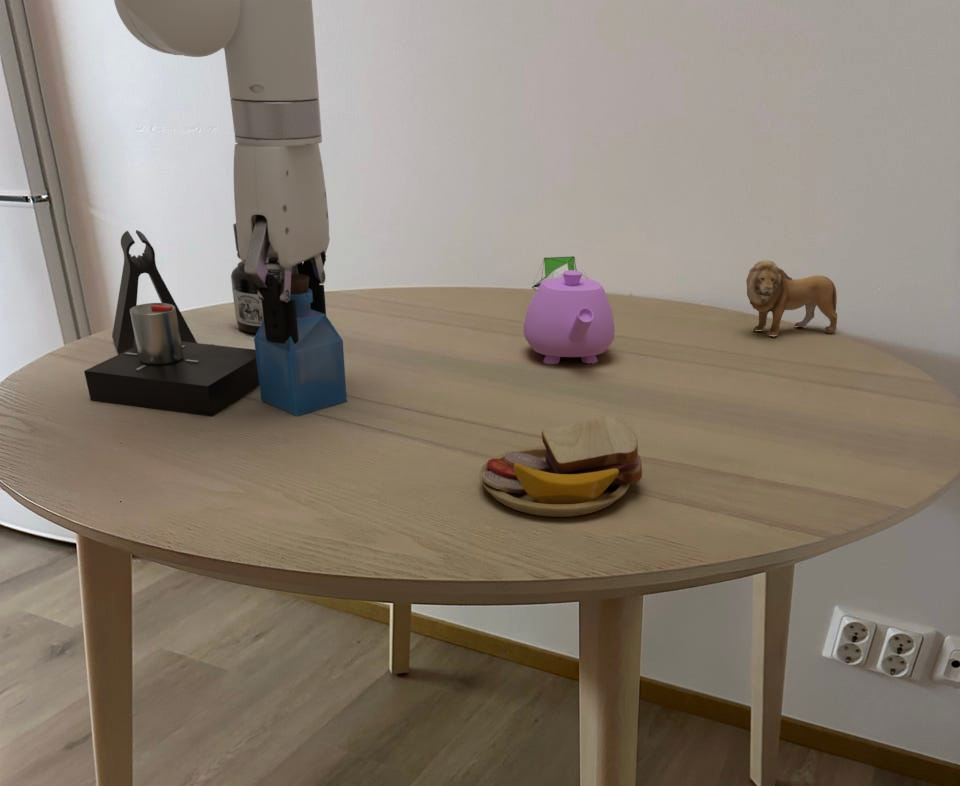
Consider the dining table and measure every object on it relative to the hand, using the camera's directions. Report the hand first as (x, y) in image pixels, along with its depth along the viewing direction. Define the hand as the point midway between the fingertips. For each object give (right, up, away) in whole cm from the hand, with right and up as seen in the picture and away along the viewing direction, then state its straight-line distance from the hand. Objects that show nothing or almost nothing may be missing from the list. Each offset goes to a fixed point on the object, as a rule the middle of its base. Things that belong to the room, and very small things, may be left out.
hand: (297, 331), depth 90 cm
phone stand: (-21, +5, +20) cm, 29 cm away
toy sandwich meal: (+25, -17, -12) cm, 33 cm away
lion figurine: (+57, +8, +26) cm, 63 cm away
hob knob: (-15, -1, +5) cm, 16 cm away
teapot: (+28, +2, +17) cm, 33 cm away
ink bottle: (-8, +9, +26) cm, 29 cm away
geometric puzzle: (+29, +15, +35) cm, 48 cm away
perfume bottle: (0, -6, +4) cm, 7 cm away
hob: (-13, -4, +6) cm, 15 cm away
